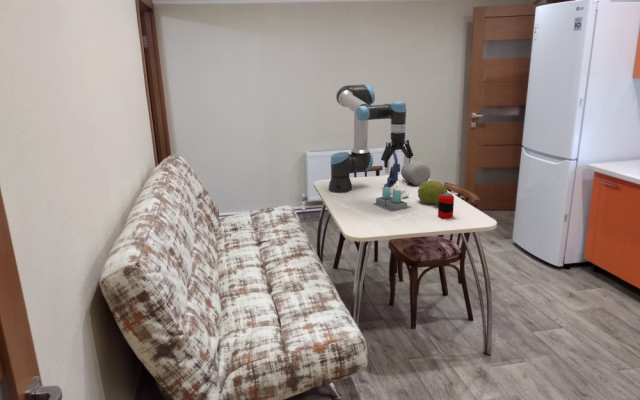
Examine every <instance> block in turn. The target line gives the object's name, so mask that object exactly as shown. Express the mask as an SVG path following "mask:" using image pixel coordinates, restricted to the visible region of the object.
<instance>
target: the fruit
mask: <svg viewBox="0 0 640 400" xmlns="http://www.w3.org/2000/svg"><path fill="white" fill-rule="evenodd" d="M441 193H448V188H447V187H446V186H445V185H444V184H443V183H442V182H441V181H436V180H432V179H429V180H428V181H426V182H423V183H422V184H421V185H420V186H418V188H417V197H418V199H419V200H420V201H421V203H422V204H426V205H434V206H438V202H439V196H440V195H441Z"/></svg>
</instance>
